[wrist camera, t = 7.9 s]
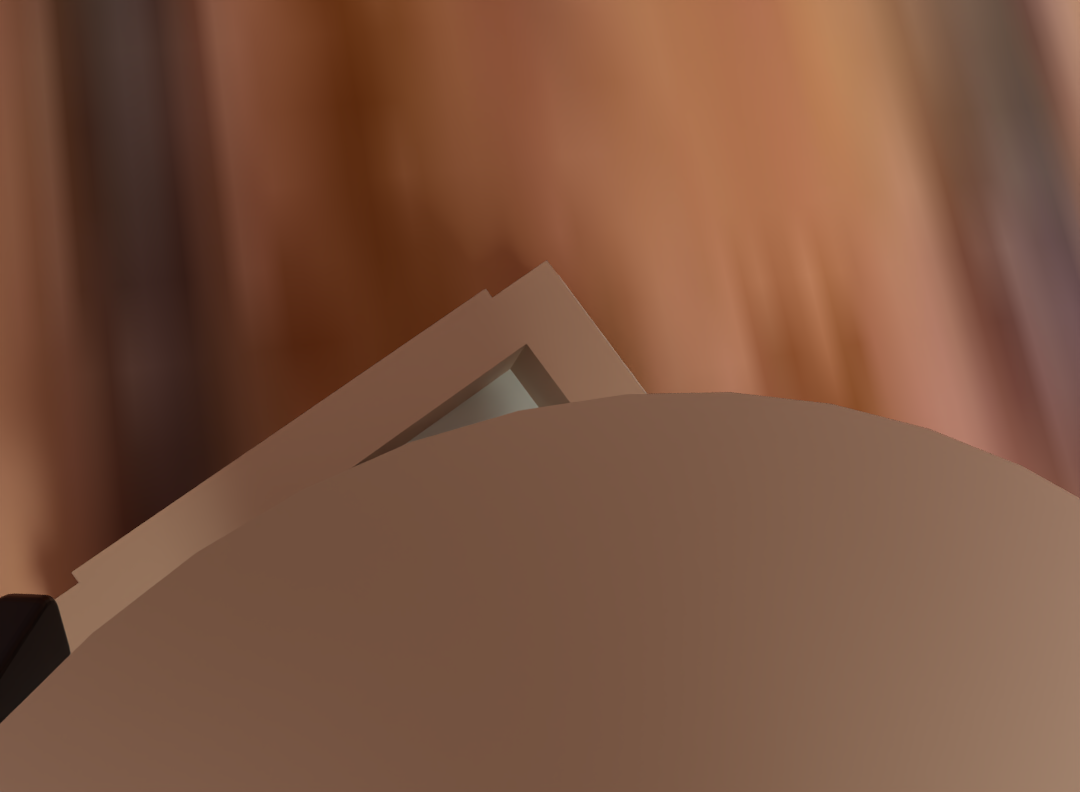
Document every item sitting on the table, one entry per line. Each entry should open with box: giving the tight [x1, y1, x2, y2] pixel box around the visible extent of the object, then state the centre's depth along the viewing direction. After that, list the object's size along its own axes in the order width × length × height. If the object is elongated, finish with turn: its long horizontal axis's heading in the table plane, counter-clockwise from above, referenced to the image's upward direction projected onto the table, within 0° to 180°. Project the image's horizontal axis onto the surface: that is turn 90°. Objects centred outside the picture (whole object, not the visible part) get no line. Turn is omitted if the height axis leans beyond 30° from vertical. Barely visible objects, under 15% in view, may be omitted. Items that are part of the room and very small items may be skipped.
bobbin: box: [0, 392, 1080, 792], centre depth 9 cm, size 6×6×14 cm
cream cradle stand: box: [55, 260, 647, 653], centre depth 16 cm, size 12×10×4 cm
